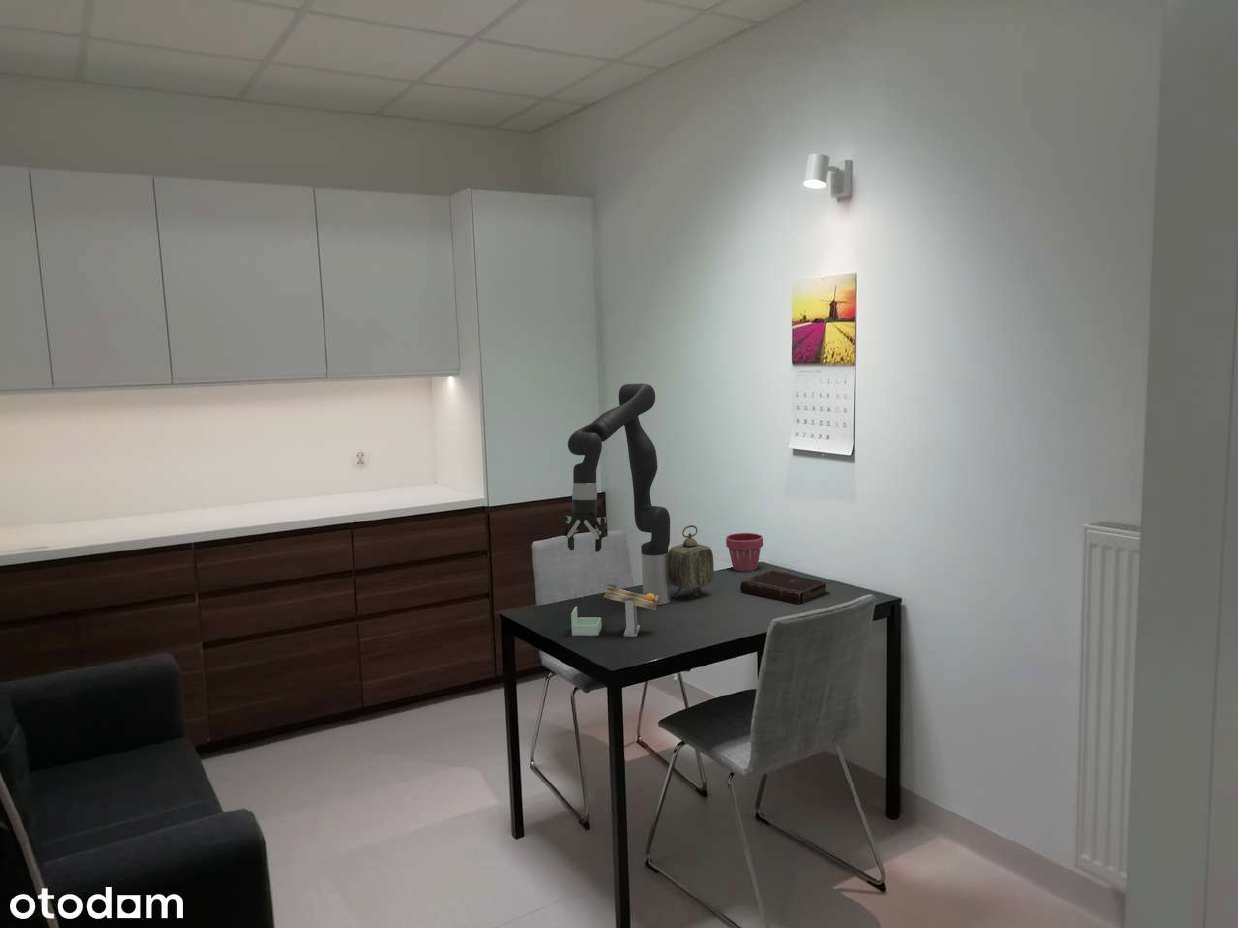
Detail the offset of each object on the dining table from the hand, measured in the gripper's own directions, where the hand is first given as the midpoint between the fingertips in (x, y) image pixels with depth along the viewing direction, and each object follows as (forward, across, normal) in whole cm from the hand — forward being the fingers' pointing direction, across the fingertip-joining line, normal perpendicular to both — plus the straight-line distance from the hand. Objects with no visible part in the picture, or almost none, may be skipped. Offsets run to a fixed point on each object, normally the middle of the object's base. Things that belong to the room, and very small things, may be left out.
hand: (584, 550), depth 273 cm
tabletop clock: (+21, -21, -48) cm, 57 cm away
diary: (+20, -52, -58) cm, 80 cm away
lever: (+15, -12, -7) cm, 21 cm away
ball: (+14, -19, -6) cm, 25 cm away
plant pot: (+17, -31, -89) cm, 96 cm away
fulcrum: (+25, -14, -5) cm, 29 cm away
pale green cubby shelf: (+26, 0, -2) cm, 26 cm away
